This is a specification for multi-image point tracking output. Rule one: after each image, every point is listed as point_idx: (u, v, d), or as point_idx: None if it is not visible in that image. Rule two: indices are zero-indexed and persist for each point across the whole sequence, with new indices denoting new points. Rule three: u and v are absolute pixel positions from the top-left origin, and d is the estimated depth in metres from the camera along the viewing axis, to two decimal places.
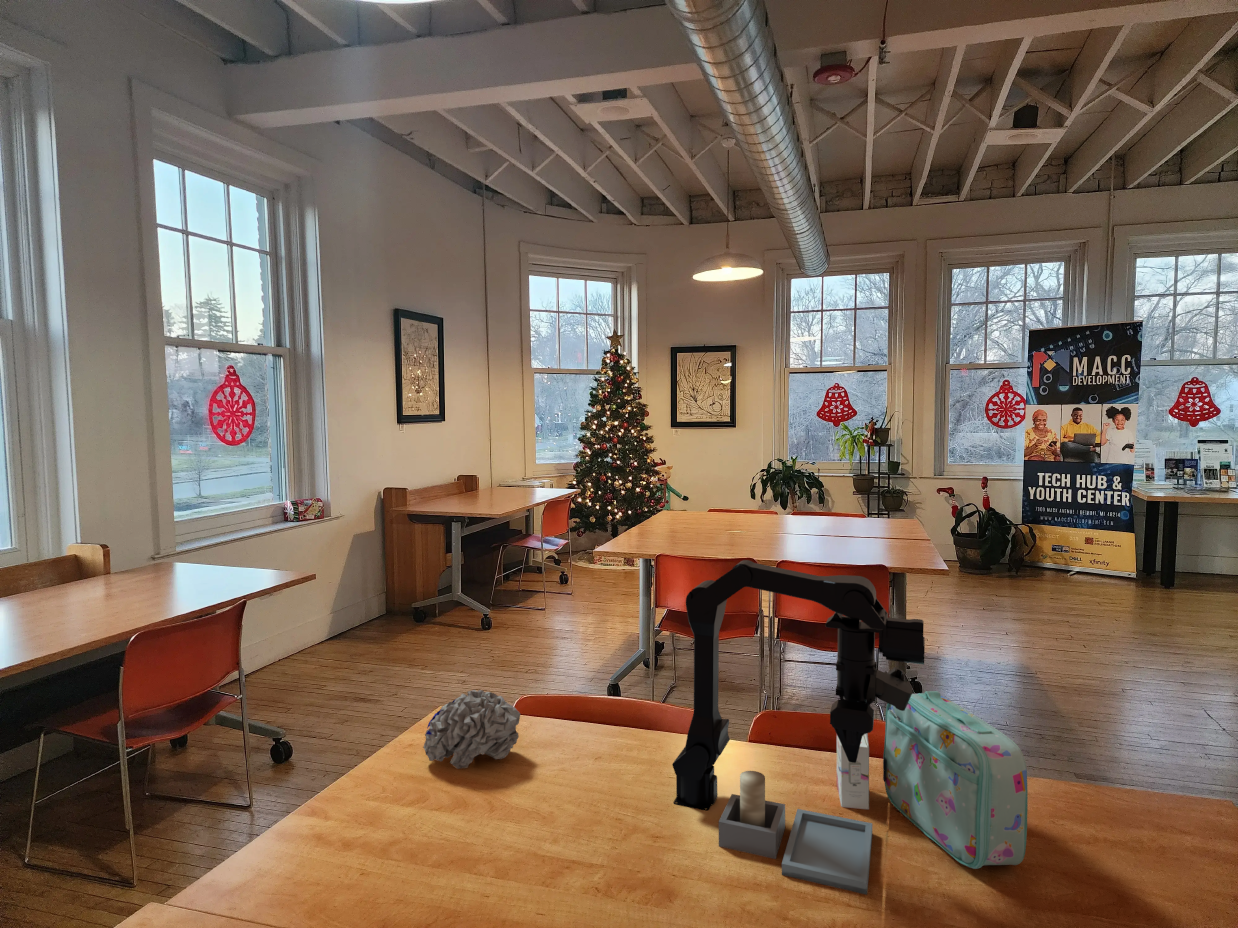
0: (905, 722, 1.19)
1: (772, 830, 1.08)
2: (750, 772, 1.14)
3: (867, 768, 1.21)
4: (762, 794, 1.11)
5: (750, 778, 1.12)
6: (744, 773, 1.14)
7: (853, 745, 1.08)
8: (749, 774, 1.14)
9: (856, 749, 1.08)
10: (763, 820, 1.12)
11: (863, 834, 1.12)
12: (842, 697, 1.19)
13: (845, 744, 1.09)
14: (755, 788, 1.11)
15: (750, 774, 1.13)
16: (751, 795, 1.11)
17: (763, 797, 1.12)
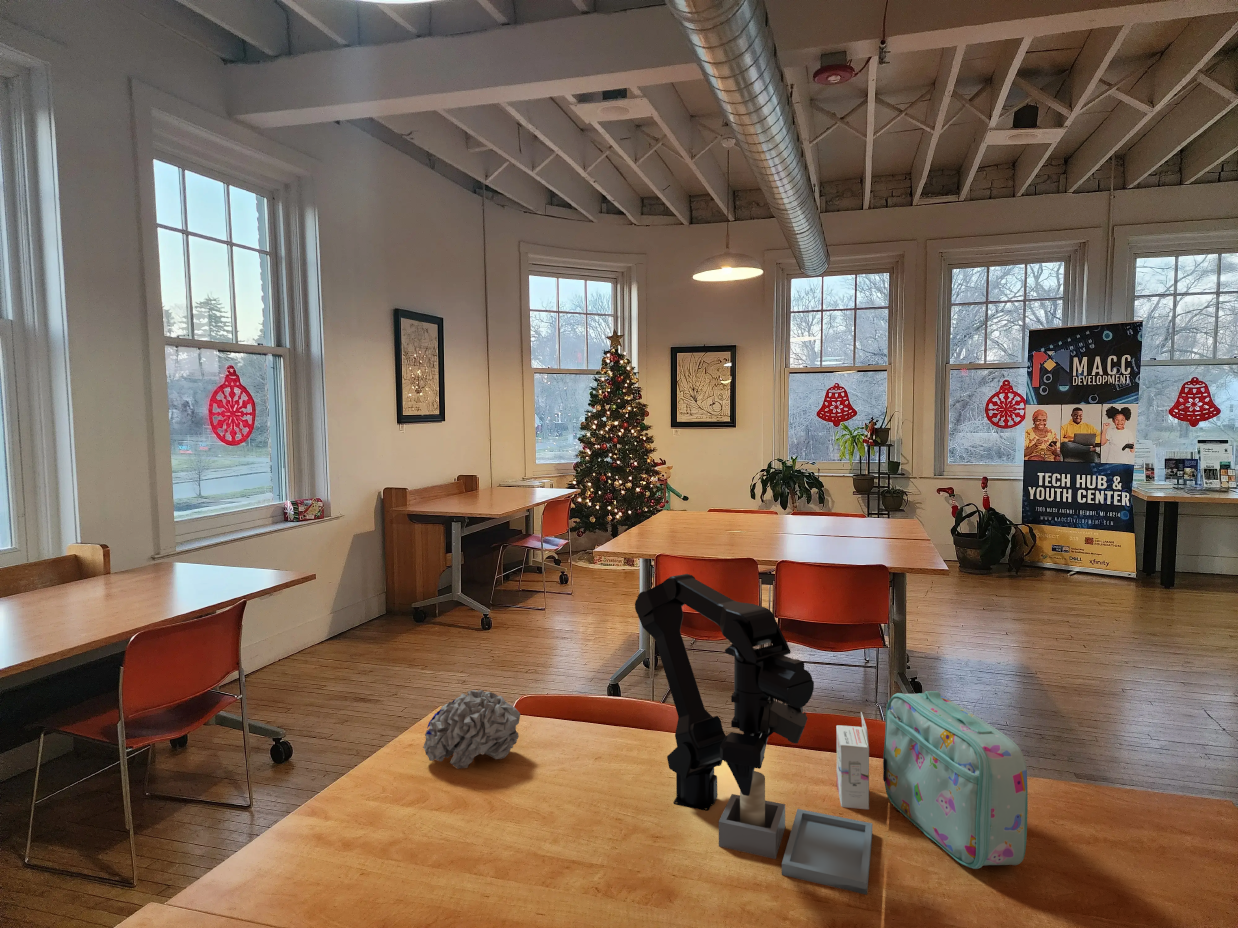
0: (905, 722, 1.19)
1: (772, 830, 1.08)
2: None
3: (867, 768, 1.21)
4: (762, 794, 1.11)
5: None
6: None
7: (745, 778, 1.07)
8: None
9: (748, 782, 1.07)
10: (763, 820, 1.12)
11: (863, 834, 1.12)
12: None
13: (738, 777, 1.08)
14: (755, 788, 1.11)
15: None
16: (751, 795, 1.11)
17: (763, 797, 1.12)
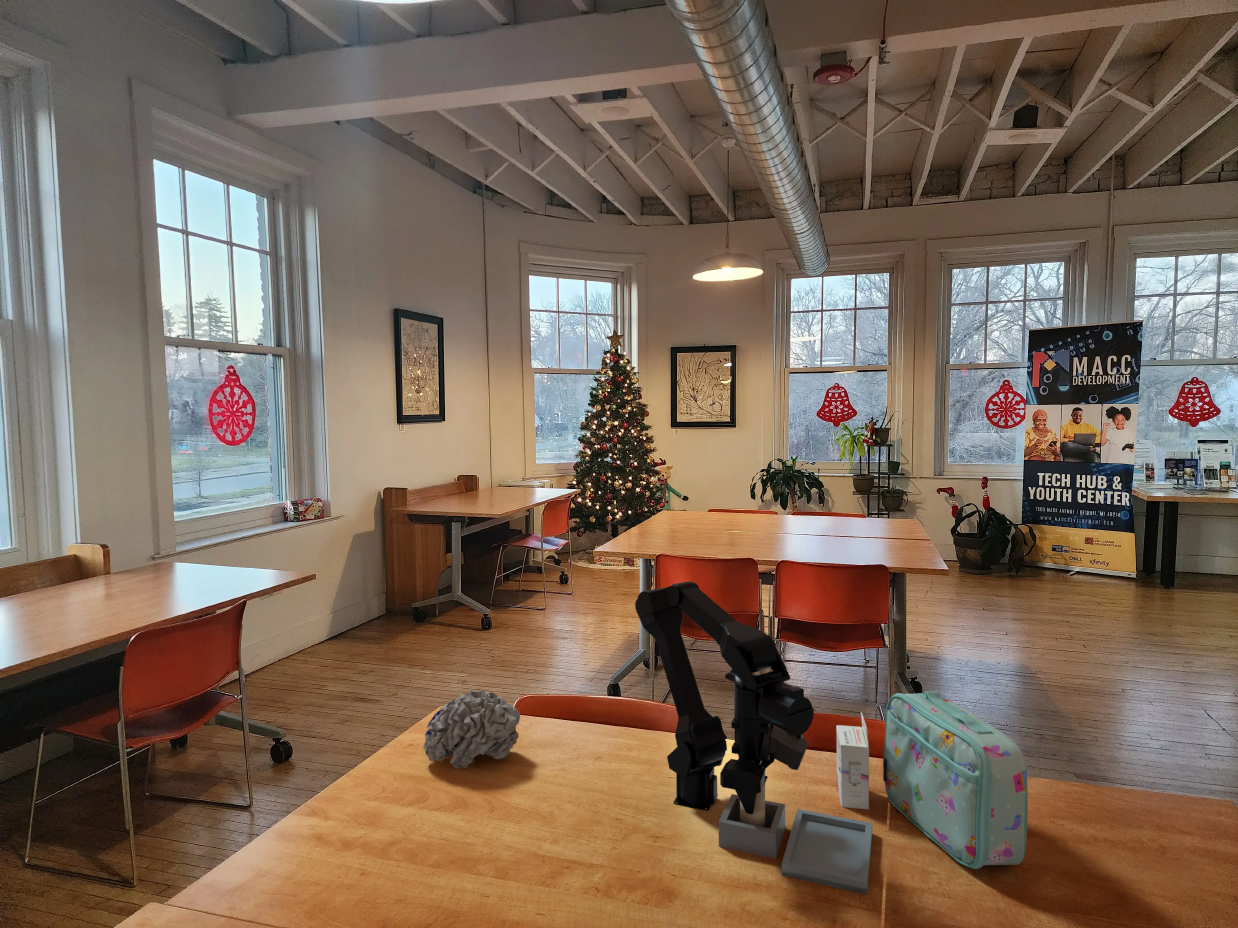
0: (905, 722, 1.19)
1: (772, 830, 1.08)
2: None
3: (867, 768, 1.21)
4: (762, 794, 1.11)
5: None
6: None
7: (749, 797, 1.10)
8: None
9: (752, 801, 1.10)
10: (763, 820, 1.12)
11: (863, 834, 1.12)
12: None
13: (741, 796, 1.10)
14: None
15: None
16: None
17: (763, 797, 1.12)
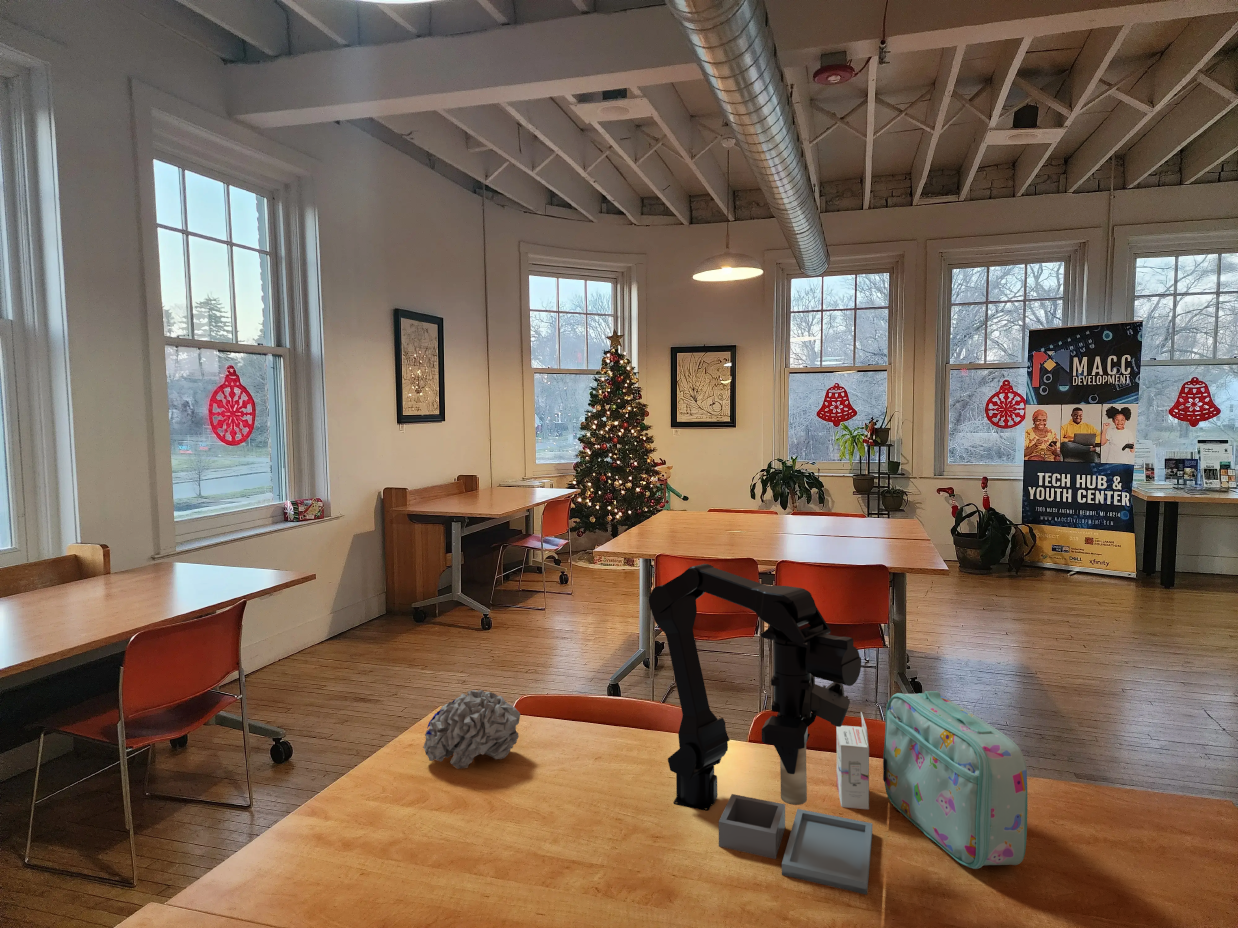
0: (905, 722, 1.19)
1: (772, 830, 1.08)
2: None
3: (867, 768, 1.21)
4: (803, 754, 1.08)
5: None
6: None
7: (790, 756, 1.07)
8: None
9: (794, 760, 1.07)
10: (805, 780, 1.09)
11: (863, 834, 1.12)
12: None
13: (783, 755, 1.07)
14: None
15: None
16: None
17: (804, 757, 1.09)
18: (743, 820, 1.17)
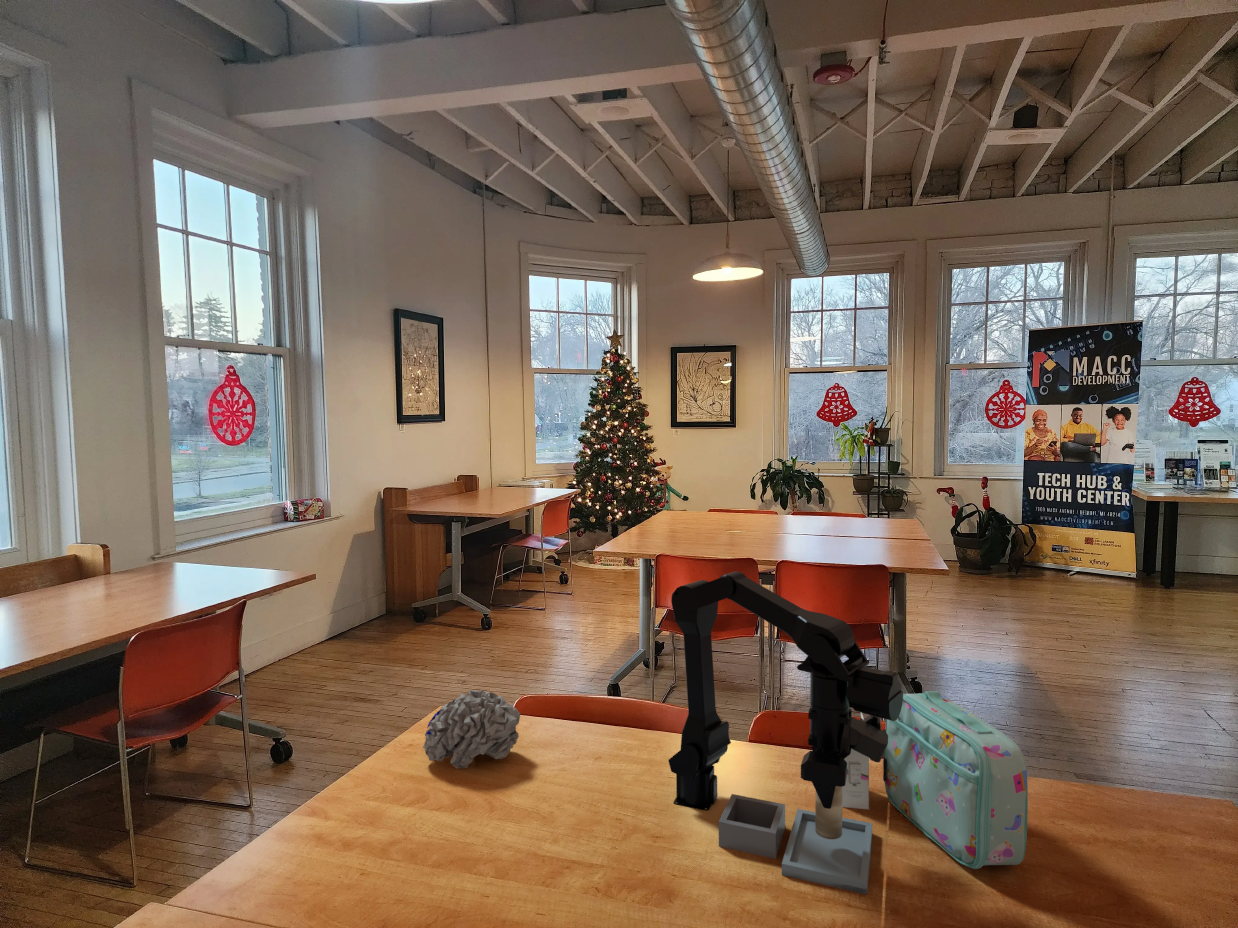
0: (905, 722, 1.19)
1: (772, 830, 1.08)
2: None
3: (867, 768, 1.21)
4: (840, 788, 1.07)
5: None
6: None
7: (827, 791, 1.05)
8: None
9: (830, 795, 1.05)
10: (841, 814, 1.07)
11: (863, 834, 1.12)
12: (815, 750, 1.11)
13: (819, 790, 1.05)
14: None
15: None
16: None
17: (841, 790, 1.07)
18: (743, 820, 1.17)
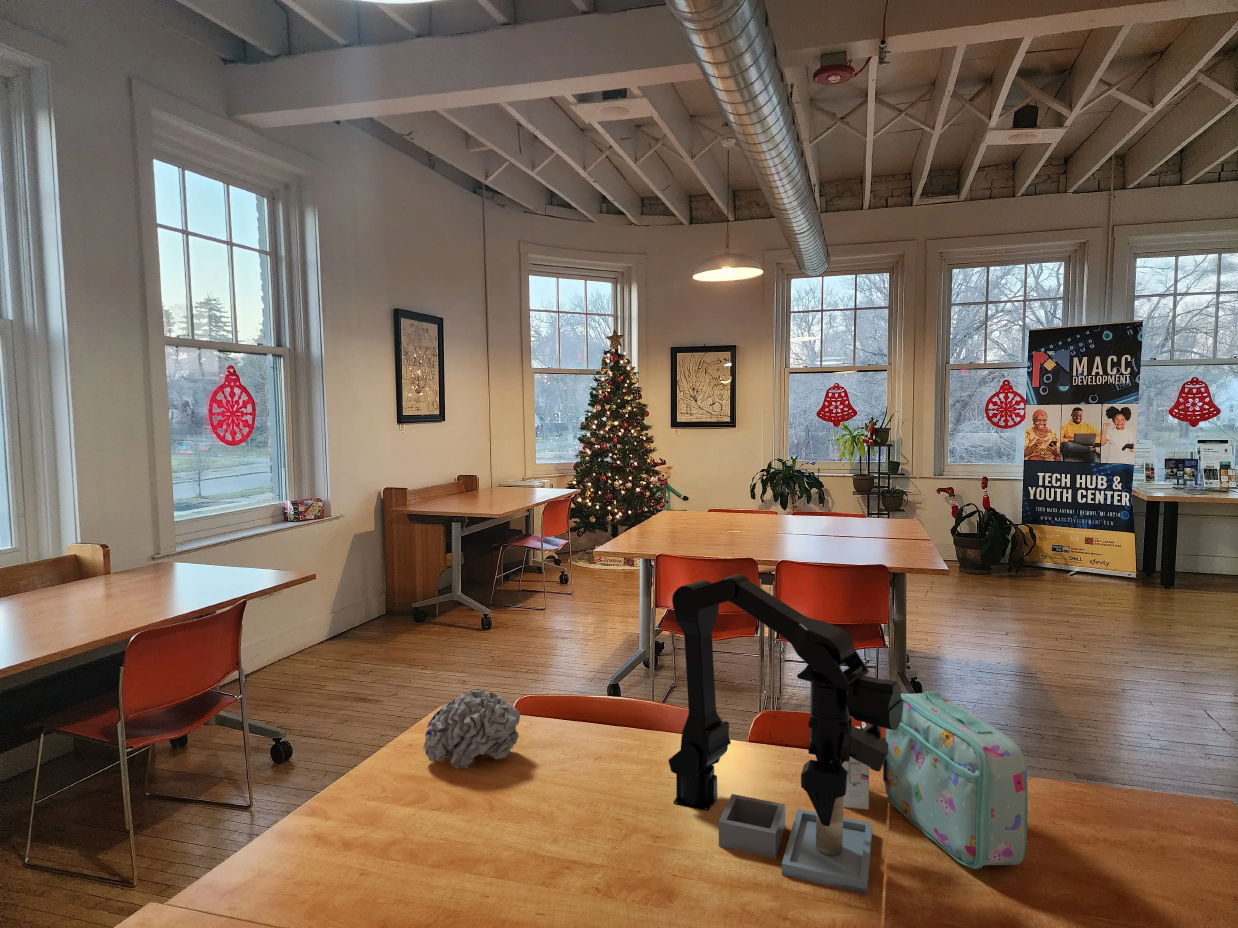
0: (905, 722, 1.19)
1: (772, 830, 1.08)
2: None
3: (867, 768, 1.21)
4: (841, 805, 1.07)
5: None
6: None
7: (826, 808, 1.03)
8: None
9: (829, 812, 1.03)
10: (841, 831, 1.07)
11: (863, 834, 1.12)
12: None
13: (818, 807, 1.03)
14: None
15: None
16: None
17: (842, 807, 1.07)
18: (743, 820, 1.17)
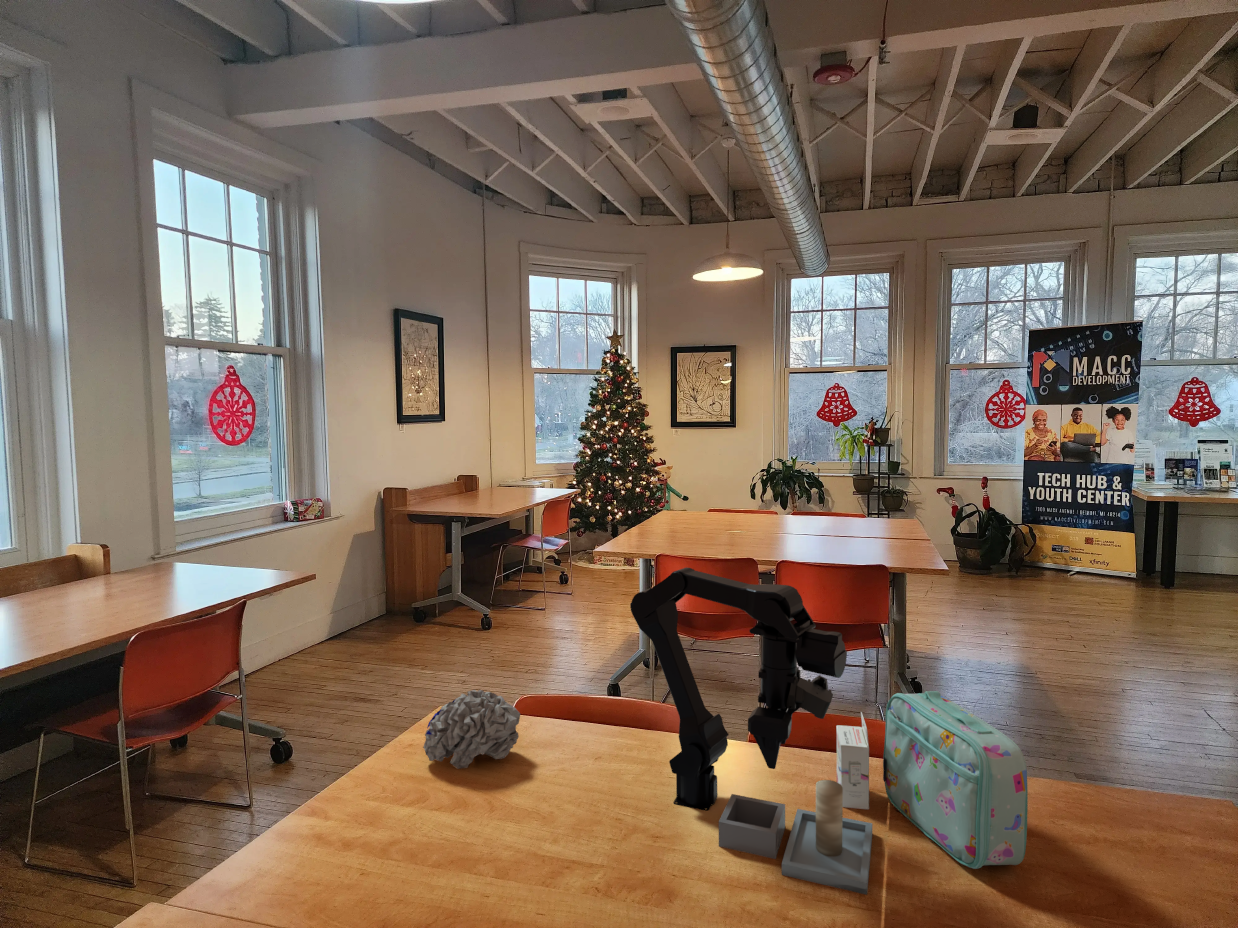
0: (905, 722, 1.19)
1: (772, 830, 1.08)
2: (825, 781, 1.09)
3: (867, 768, 1.21)
4: (840, 805, 1.07)
5: (827, 788, 1.08)
6: (819, 782, 1.09)
7: (772, 752, 1.10)
8: (825, 783, 1.09)
9: (774, 756, 1.10)
10: (841, 832, 1.07)
11: (863, 834, 1.12)
12: None
13: (764, 751, 1.10)
14: (834, 798, 1.06)
15: (826, 783, 1.09)
16: (829, 805, 1.06)
17: (841, 808, 1.07)
18: (743, 820, 1.17)
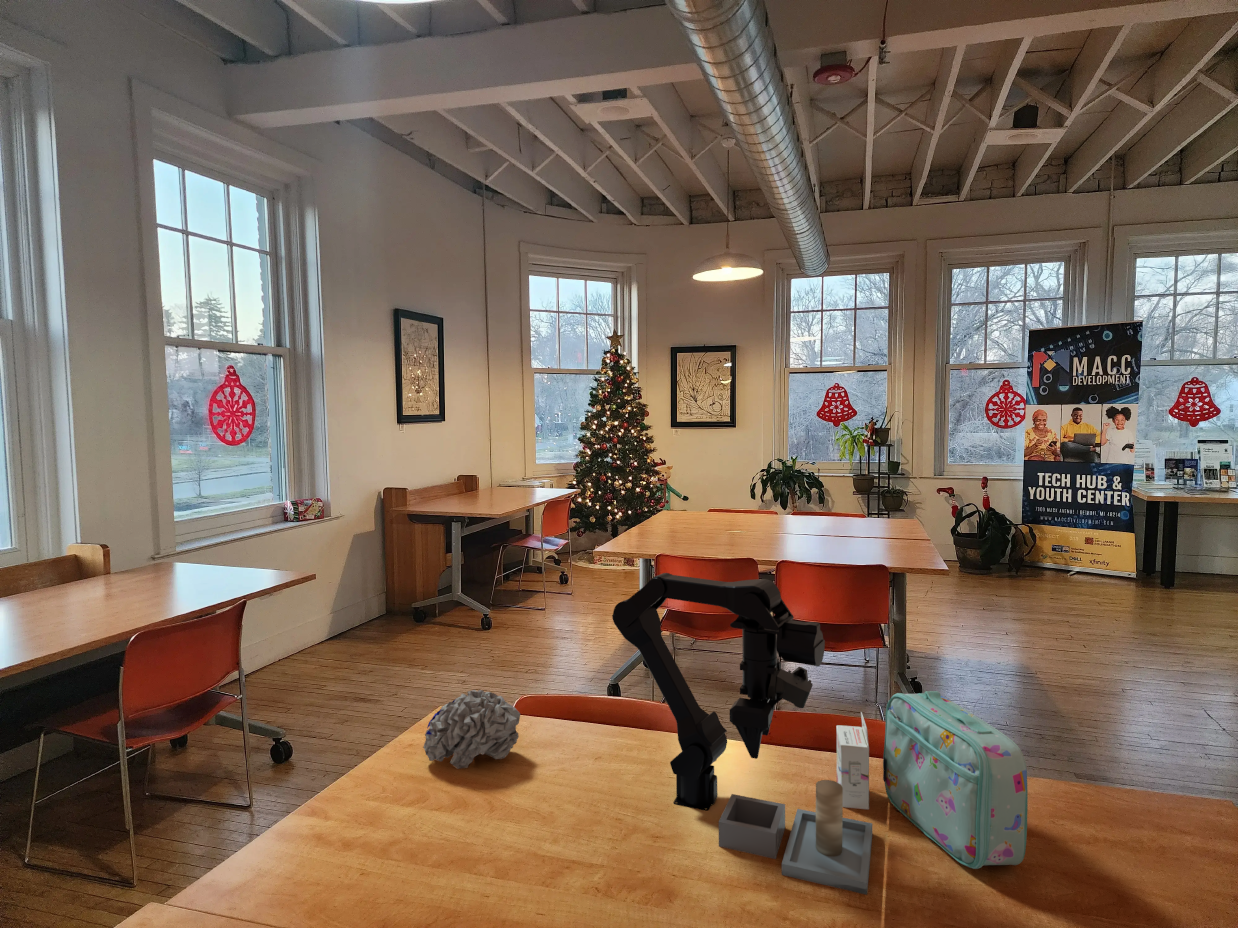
0: (905, 722, 1.19)
1: (772, 830, 1.08)
2: (826, 781, 1.09)
3: (867, 768, 1.21)
4: (840, 805, 1.07)
5: (827, 788, 1.08)
6: (819, 782, 1.09)
7: (754, 742, 1.13)
8: (825, 783, 1.09)
9: (757, 745, 1.13)
10: (841, 832, 1.07)
11: (863, 834, 1.12)
12: None
13: (746, 741, 1.13)
14: (834, 798, 1.06)
15: (826, 783, 1.09)
16: (829, 805, 1.06)
17: (841, 808, 1.07)
18: (743, 820, 1.17)
